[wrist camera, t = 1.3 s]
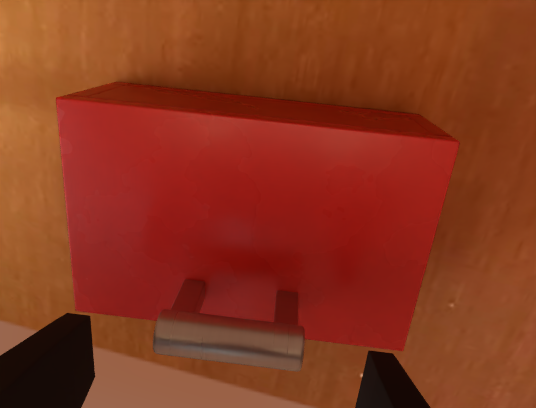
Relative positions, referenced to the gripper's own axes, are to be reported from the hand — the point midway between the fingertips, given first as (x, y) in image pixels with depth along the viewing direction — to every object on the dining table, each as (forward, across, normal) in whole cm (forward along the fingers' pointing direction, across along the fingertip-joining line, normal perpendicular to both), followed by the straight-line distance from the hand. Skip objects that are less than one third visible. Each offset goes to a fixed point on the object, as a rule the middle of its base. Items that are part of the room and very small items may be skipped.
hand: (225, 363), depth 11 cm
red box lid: (+4, 0, -2) cm, 4 cm away
